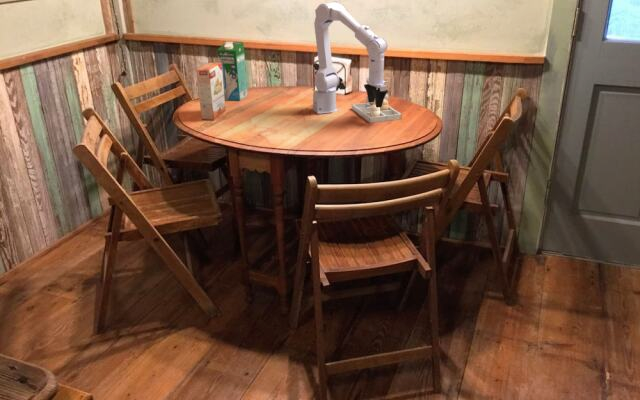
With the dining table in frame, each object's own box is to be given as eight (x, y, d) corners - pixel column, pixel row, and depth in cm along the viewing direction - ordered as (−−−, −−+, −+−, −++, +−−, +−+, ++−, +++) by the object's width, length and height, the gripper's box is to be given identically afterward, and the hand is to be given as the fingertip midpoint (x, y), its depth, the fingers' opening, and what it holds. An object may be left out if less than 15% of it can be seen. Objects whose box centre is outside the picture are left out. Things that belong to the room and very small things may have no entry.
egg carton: (369, 123, 217) (370, 117, 216) (351, 110, 235) (351, 104, 234) (401, 120, 221) (401, 114, 220) (381, 106, 238) (381, 101, 237)
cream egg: (372, 121, 219) (372, 106, 216) (368, 118, 222) (368, 103, 220) (381, 120, 220) (381, 105, 217) (377, 117, 223) (377, 102, 221)
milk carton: (221, 99, 253) (216, 44, 242) (230, 94, 260) (225, 41, 249) (239, 101, 250) (235, 45, 239) (247, 95, 258) (243, 41, 247)
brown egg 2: (380, 114, 226) (381, 100, 224) (376, 112, 230) (377, 98, 227) (389, 113, 227) (390, 99, 225) (385, 111, 231) (386, 97, 228)
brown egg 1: (374, 110, 232) (374, 97, 229) (369, 107, 235) (369, 94, 232) (382, 108, 233) (382, 95, 230) (377, 105, 236) (377, 92, 233)
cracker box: (214, 120, 225) (209, 69, 215) (201, 119, 226) (195, 69, 217) (226, 110, 237) (222, 62, 228) (213, 110, 238) (208, 61, 229)
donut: (392, 92, 240) (381, 91, 232) (393, 100, 240) (382, 99, 232) (372, 97, 246) (361, 96, 238) (373, 104, 246) (362, 104, 238)
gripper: (393, 73, 207) (391, 108, 213) (378, 65, 220) (377, 98, 226) (376, 75, 205) (375, 110, 211) (362, 67, 218) (361, 100, 224)
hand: (375, 104), depth 218 cm, fingers open, 7 cm apart
